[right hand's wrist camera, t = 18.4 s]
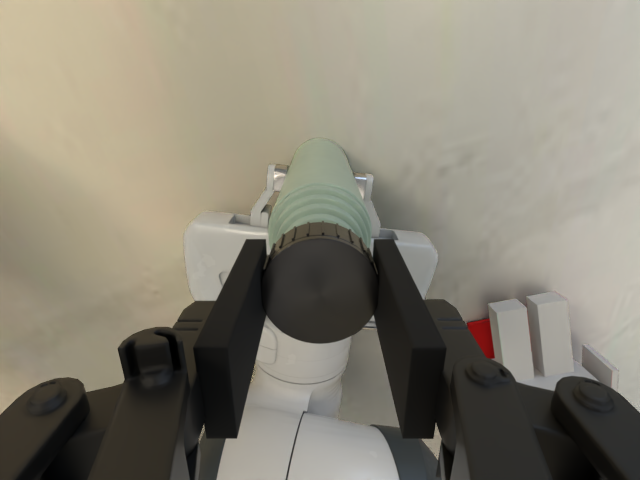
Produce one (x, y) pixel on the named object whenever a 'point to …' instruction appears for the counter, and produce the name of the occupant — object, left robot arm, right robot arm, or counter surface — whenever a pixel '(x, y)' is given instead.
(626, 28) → the counter surface
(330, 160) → the bottle
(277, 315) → the cap
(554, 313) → the toy
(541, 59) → the counter surface
